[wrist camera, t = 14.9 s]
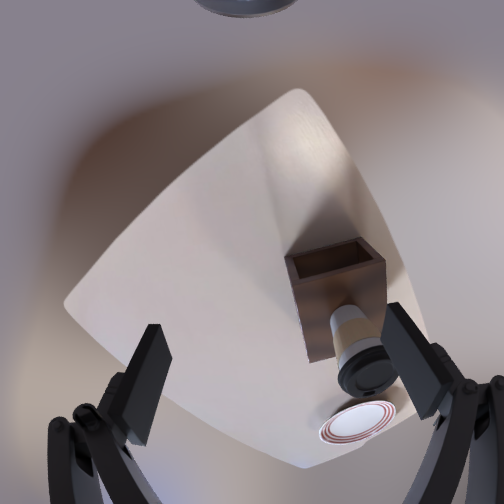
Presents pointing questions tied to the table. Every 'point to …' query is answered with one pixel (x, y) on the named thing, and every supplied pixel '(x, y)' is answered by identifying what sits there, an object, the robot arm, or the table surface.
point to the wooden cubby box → (336, 289)
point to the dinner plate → (357, 422)
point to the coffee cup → (360, 354)
